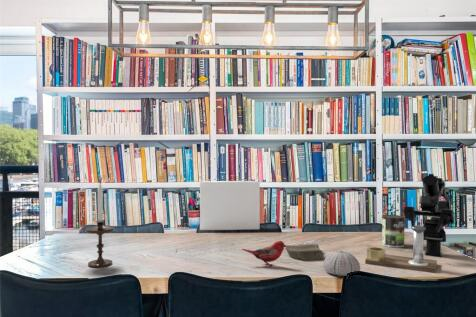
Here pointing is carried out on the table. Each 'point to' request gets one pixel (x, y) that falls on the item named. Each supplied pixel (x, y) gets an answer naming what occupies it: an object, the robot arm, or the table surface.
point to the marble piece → (305, 252)
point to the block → (229, 205)
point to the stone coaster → (417, 263)
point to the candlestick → (100, 233)
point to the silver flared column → (418, 243)
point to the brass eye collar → (375, 254)
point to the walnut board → (404, 263)
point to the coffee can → (393, 231)
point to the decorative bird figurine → (269, 252)
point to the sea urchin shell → (341, 263)
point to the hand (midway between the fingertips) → (424, 230)
